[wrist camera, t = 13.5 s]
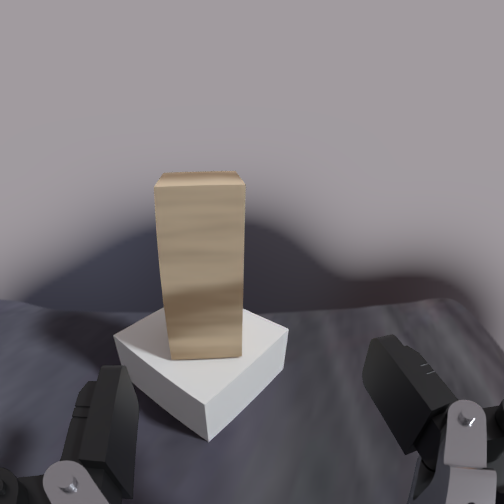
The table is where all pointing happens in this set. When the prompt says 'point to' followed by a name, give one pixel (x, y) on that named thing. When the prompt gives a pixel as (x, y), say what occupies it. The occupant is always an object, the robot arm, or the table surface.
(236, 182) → the maple pillar
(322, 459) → the table surface
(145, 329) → the grey base block
